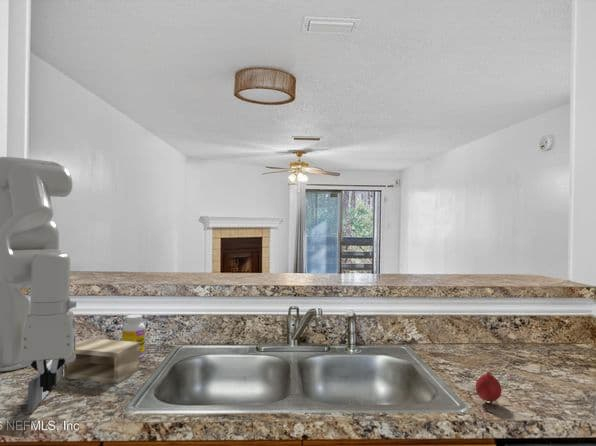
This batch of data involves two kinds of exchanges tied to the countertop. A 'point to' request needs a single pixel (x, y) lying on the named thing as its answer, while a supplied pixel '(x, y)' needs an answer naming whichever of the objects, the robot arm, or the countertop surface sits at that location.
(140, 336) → the supplement bottle
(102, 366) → the cabinet
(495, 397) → the onion
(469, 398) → the countertop surface
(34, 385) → the door
